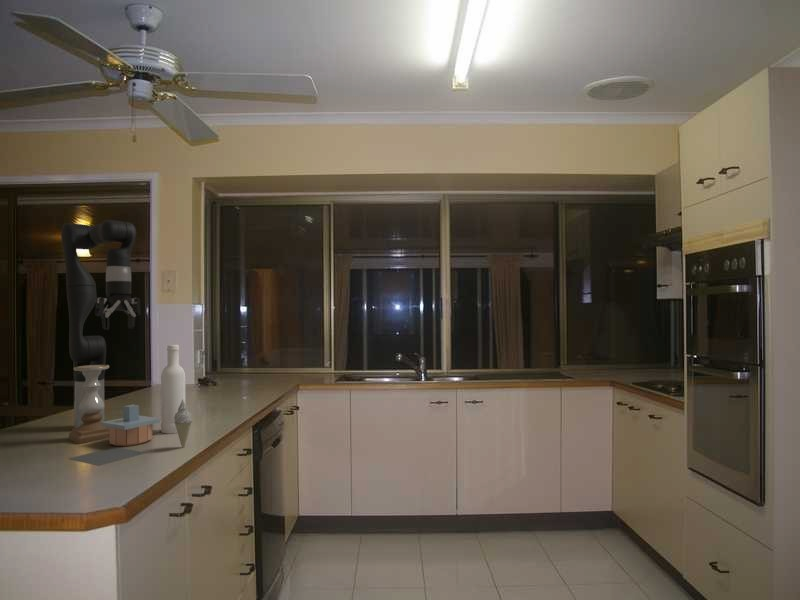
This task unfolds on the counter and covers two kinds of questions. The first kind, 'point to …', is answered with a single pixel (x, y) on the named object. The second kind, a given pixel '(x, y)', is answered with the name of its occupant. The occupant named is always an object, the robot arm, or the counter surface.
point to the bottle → (171, 390)
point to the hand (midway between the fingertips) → (118, 328)
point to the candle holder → (90, 408)
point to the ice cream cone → (182, 423)
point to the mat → (107, 456)
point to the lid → (130, 419)
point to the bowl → (130, 435)
